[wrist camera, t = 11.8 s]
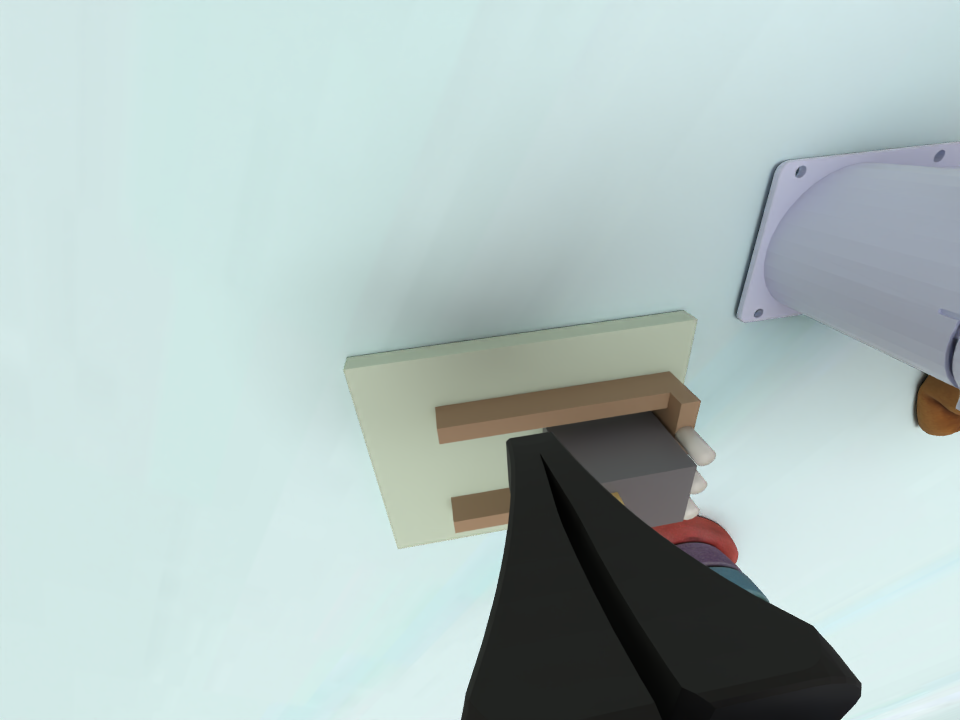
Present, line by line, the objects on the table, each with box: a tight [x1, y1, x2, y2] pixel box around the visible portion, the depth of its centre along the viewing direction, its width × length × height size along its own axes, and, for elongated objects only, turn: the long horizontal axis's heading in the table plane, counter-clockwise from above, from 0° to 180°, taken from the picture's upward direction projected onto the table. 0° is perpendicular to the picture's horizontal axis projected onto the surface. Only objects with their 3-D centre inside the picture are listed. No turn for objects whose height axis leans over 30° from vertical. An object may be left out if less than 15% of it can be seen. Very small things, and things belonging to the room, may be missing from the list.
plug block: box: [543, 411, 697, 527], centre depth 21 cm, size 6×4×6 cm, turn 96°
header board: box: [343, 310, 716, 549], centre depth 22 cm, size 18×14×6 cm
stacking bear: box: [651, 516, 769, 603], centre depth 25 cm, size 11×10×18 cm
